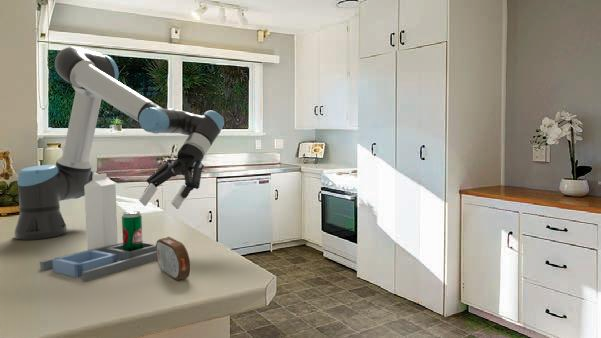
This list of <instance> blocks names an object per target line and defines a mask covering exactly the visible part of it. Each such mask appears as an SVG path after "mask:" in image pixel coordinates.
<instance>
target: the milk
mask: <svg viewBox="0 0 601 338" xmlns="http://www.w3.org/2000/svg"><path fill="white" fill-rule="evenodd" d="M92 179H93V180H92V181H90V182H89V183H88V184H86V185H85V186H84V190H85V196H84V208H85V226H86V227H85V229H86V230H85V231H86V232H85V233H86V248H87V249H86V251H87V250H91V249H95V248H99V247H103V246H108V245H112V244H116V243H119V240H118V239H119V238H118V216H117V215H118V214H117V192H116V191H117V190H116V188H117V187H116V183H114V181H112V180H110V179H108V178H107V173H97V174H95V173H94V175H93V176H92Z"/></svg>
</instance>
